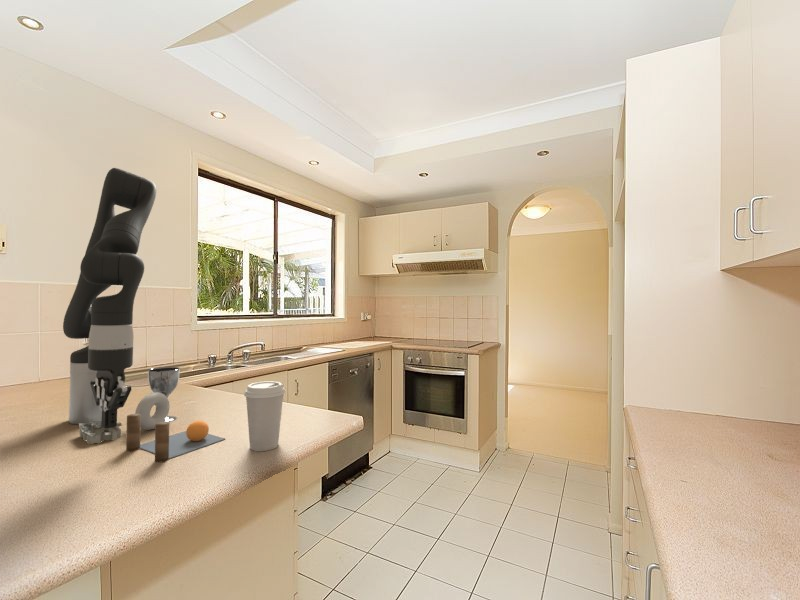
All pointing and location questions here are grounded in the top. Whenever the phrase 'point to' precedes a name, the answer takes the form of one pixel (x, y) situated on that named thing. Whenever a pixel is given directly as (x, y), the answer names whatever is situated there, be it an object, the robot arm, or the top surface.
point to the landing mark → (182, 444)
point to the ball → (197, 430)
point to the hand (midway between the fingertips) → (109, 427)
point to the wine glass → (164, 382)
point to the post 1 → (133, 432)
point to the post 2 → (161, 441)
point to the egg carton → (98, 432)
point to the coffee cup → (264, 414)
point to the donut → (145, 408)
